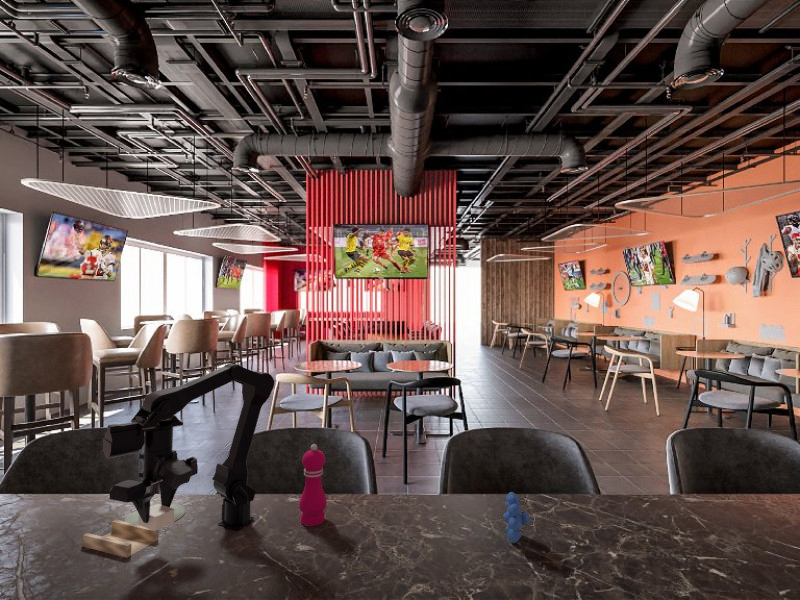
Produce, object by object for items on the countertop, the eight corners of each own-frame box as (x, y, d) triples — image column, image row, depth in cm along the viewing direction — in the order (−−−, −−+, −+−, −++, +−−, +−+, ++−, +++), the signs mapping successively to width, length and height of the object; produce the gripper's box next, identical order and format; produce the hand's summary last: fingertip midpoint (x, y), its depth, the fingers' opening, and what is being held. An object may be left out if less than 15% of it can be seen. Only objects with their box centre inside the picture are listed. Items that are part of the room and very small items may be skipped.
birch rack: (158, 541, 101) (158, 529, 102) (126, 559, 94) (127, 545, 94) (115, 531, 106) (115, 519, 106) (82, 547, 98) (82, 534, 99)
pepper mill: (320, 528, 109) (321, 449, 110) (293, 525, 110) (295, 447, 111) (330, 515, 116) (331, 441, 117) (305, 513, 117) (307, 439, 118)
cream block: (174, 522, 97) (174, 509, 97) (154, 531, 93) (155, 517, 93) (157, 516, 100) (158, 503, 100) (138, 524, 96) (138, 511, 96)
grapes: (535, 557, 96) (535, 503, 97) (504, 554, 97) (504, 501, 98) (528, 532, 108) (527, 483, 108) (500, 529, 109) (500, 482, 109)
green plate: (196, 510, 118) (196, 507, 118) (152, 534, 105) (152, 531, 105) (158, 503, 122) (158, 500, 122) (111, 525, 109) (111, 522, 109)
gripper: (148, 465, 86) (145, 544, 85) (216, 440, 104) (214, 506, 103) (109, 458, 90) (105, 534, 89) (181, 436, 107) (178, 499, 107)
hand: (155, 517), depth 97 cm, fingers closed on cream block, 5 cm apart
